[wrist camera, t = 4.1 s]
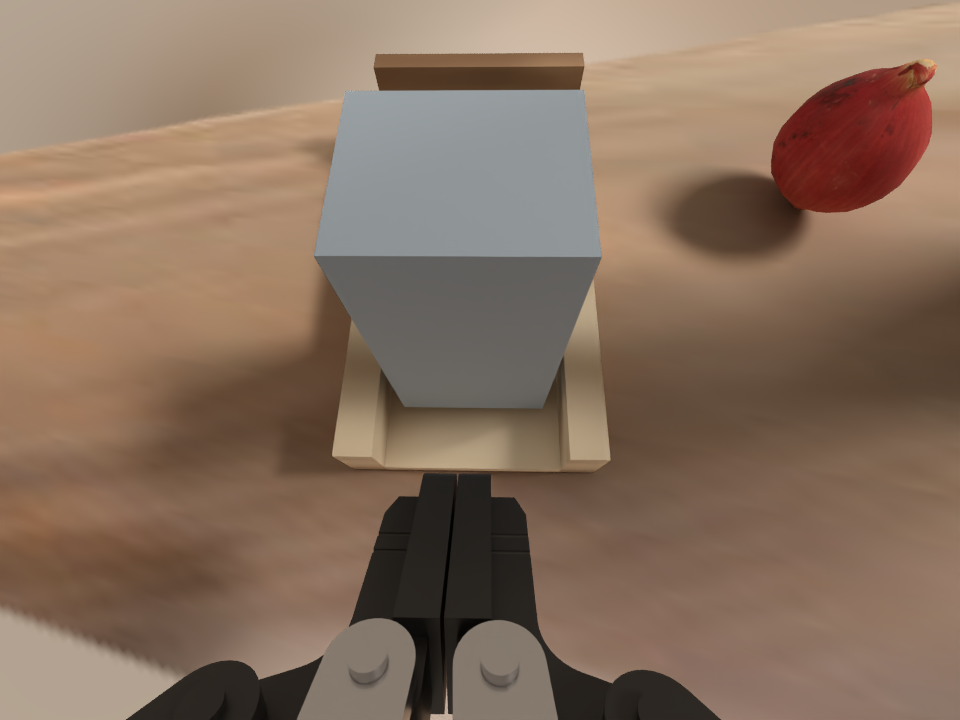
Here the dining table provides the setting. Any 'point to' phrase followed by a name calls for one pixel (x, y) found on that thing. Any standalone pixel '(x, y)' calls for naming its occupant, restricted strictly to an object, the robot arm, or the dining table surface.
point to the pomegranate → (855, 139)
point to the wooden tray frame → (478, 431)
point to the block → (462, 238)
